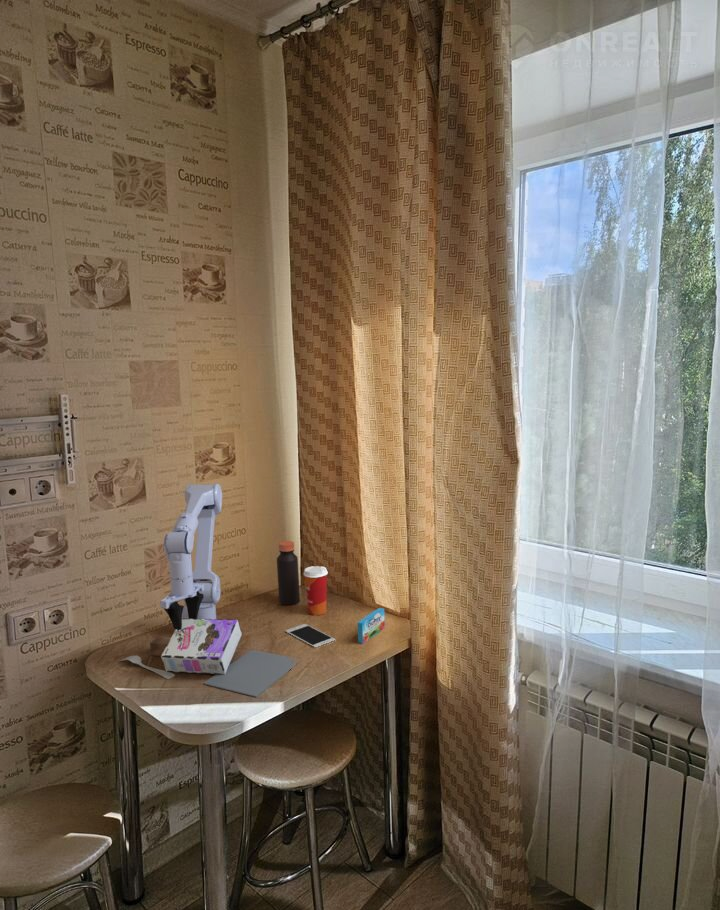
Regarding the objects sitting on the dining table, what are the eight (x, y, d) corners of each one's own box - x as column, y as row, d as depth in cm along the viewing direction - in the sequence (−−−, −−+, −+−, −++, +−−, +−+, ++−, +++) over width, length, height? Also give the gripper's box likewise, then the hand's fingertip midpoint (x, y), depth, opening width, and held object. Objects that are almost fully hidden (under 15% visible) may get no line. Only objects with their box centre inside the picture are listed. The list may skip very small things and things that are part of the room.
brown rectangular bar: (150, 655, 175) (149, 643, 174) (158, 648, 178) (157, 636, 178) (205, 658, 171) (204, 645, 171) (211, 651, 175) (210, 639, 175)
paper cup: (308, 607, 204) (306, 565, 202) (331, 607, 203) (329, 565, 201) (302, 617, 197) (300, 573, 195) (327, 617, 196) (325, 573, 194)
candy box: (220, 658, 158) (159, 656, 161) (226, 675, 161) (165, 673, 164) (237, 618, 170) (180, 617, 173) (242, 634, 173) (185, 633, 176)
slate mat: (203, 684, 157) (203, 683, 157) (252, 650, 175) (252, 649, 175) (256, 697, 150) (256, 696, 150) (301, 660, 168) (301, 659, 168)
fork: (168, 689, 161) (168, 679, 160) (116, 662, 172) (115, 653, 171) (177, 684, 163) (177, 674, 163) (125, 658, 174) (124, 649, 173)
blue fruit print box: (380, 627, 187) (380, 607, 186) (385, 628, 186) (384, 608, 185) (358, 643, 177) (357, 622, 176) (362, 644, 176) (362, 623, 175)
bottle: (285, 597, 214) (282, 539, 211) (303, 599, 211) (300, 540, 208) (275, 604, 208) (271, 545, 205) (293, 607, 205) (290, 546, 202)
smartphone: (305, 626, 191) (304, 623, 191) (336, 642, 179) (336, 638, 179) (284, 633, 187) (284, 630, 186) (315, 650, 175) (315, 646, 174)
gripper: (173, 586, 161) (177, 637, 163) (211, 569, 174) (215, 616, 176) (152, 583, 164) (157, 633, 166) (191, 566, 177) (195, 613, 179)
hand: (185, 624), depth 171 cm, fingers open, 5 cm apart
